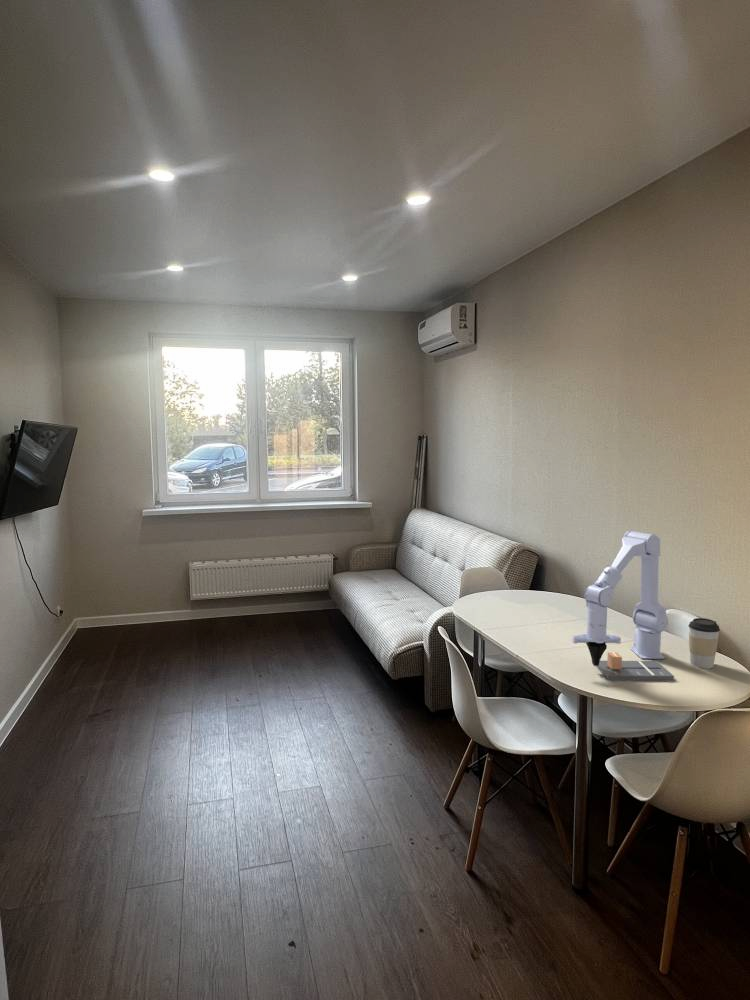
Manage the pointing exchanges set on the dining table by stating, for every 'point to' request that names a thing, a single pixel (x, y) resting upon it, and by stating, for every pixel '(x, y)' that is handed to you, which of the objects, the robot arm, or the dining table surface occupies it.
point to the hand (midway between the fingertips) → (595, 664)
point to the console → (636, 671)
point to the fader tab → (614, 660)
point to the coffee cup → (703, 642)
